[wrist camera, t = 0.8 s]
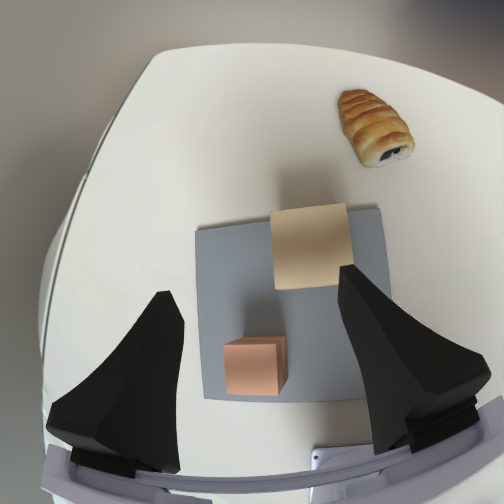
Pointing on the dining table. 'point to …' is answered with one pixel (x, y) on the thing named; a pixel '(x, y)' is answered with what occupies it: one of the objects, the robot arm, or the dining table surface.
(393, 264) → the dining table surface
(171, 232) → the dining table surface
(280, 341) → the terracotta block
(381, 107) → the pastry
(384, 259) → the slate board
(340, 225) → the oak block
